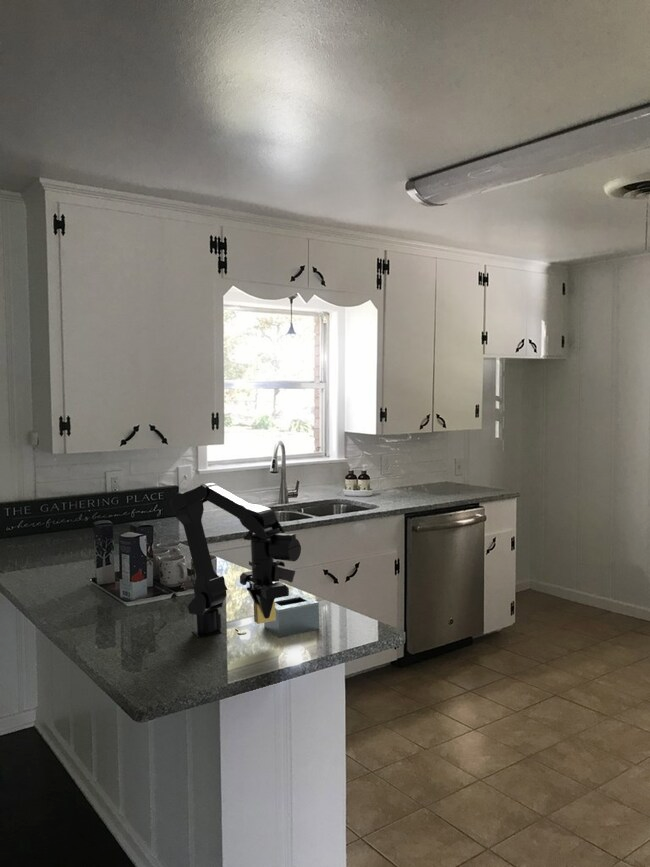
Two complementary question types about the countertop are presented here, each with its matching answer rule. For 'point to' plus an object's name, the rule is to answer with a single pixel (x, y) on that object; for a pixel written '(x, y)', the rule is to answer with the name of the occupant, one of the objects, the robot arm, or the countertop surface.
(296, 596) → the box
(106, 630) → the countertop surface
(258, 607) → the block
